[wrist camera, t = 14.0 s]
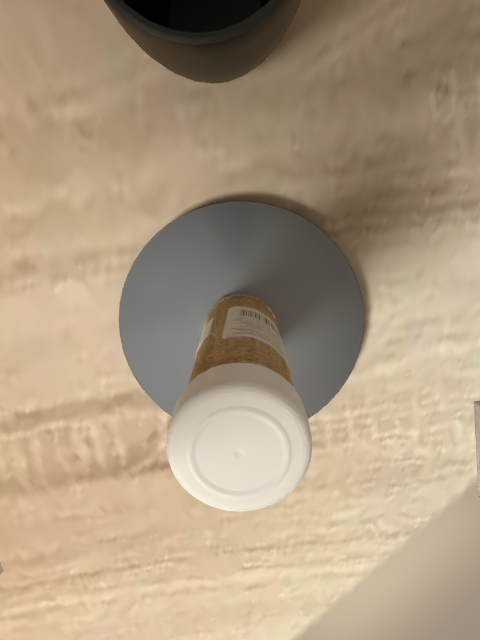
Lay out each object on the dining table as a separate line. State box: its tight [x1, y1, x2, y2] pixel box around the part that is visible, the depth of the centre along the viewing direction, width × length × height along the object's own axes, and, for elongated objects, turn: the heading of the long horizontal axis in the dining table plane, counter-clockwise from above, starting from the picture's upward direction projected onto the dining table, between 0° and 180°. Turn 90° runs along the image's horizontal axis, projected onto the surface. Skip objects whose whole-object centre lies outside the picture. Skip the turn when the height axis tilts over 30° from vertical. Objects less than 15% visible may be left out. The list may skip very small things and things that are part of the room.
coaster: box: [119, 201, 364, 419], centre depth 26 cm, size 15×15×1 cm
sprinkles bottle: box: [167, 294, 312, 511], centre depth 19 cm, size 5×5×14 cm
